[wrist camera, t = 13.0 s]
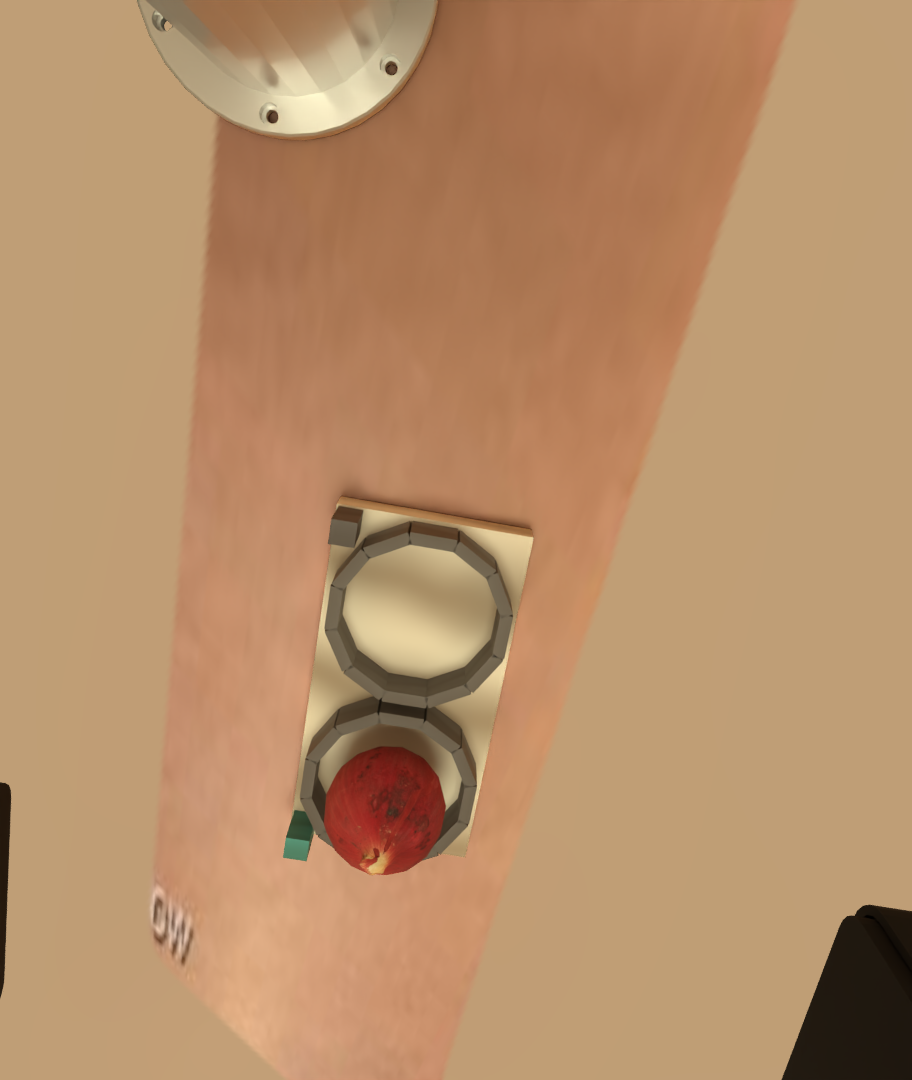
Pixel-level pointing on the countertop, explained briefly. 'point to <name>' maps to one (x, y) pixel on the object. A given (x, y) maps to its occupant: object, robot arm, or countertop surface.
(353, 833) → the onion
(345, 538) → the cream flat ringed piece
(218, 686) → the countertop surface
